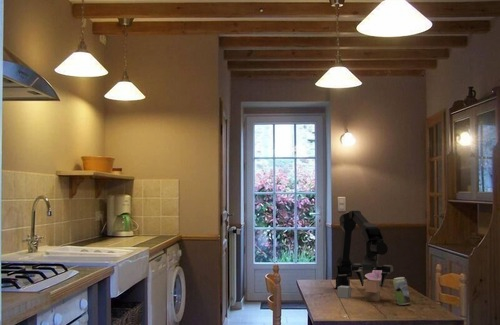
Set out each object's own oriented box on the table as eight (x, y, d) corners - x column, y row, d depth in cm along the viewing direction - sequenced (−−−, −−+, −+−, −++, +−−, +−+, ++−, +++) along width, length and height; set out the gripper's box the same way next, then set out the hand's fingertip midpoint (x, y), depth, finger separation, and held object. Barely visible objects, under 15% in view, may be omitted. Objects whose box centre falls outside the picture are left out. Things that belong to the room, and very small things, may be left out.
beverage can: (411, 306, 245) (410, 278, 246) (393, 305, 247) (393, 278, 247) (409, 303, 251) (409, 276, 252) (392, 303, 253) (392, 276, 253)
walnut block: (364, 300, 260) (364, 292, 260) (367, 298, 265) (367, 290, 265) (377, 301, 257) (377, 292, 258) (380, 299, 263) (380, 290, 263)
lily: (364, 285, 311) (359, 271, 308) (382, 276, 313) (378, 262, 309) (374, 295, 300) (369, 280, 296) (393, 286, 301) (389, 271, 298)
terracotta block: (365, 291, 260) (365, 281, 261) (369, 290, 265) (368, 279, 265) (376, 292, 258) (376, 281, 258) (379, 291, 262) (379, 280, 263)
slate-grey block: (337, 297, 268) (337, 287, 268) (341, 296, 272) (341, 285, 273) (347, 298, 265) (347, 287, 266) (351, 296, 270) (350, 286, 270)
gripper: (346, 253, 260) (347, 287, 259) (386, 255, 251) (387, 290, 250) (354, 251, 270) (355, 284, 269) (393, 253, 261) (393, 287, 260)
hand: (372, 286), depth 262 cm, fingers open, 9 cm apart
